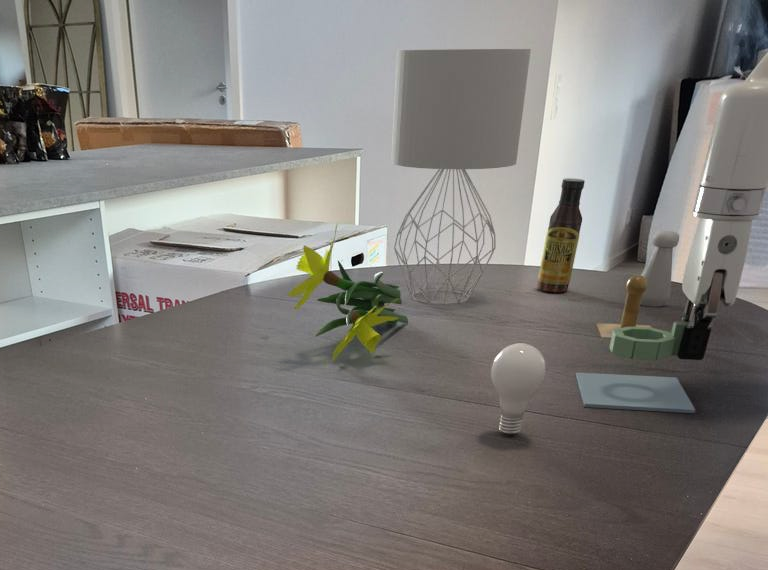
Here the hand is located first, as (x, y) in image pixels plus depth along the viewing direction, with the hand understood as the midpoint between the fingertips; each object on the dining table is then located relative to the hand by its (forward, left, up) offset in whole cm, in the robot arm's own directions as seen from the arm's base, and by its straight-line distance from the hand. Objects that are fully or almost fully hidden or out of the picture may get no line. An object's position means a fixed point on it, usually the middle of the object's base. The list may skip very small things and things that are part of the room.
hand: (688, 355), depth 114 cm
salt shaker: (-4, -52, -6) cm, 53 cm away
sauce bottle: (+13, -64, -6) cm, 66 cm away
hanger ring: (+4, 0, 0) cm, 4 cm away
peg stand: (+3, -31, -6) cm, 32 cm away
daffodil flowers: (+47, -19, -6) cm, 51 cm away
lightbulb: (+23, +19, -6) cm, 30 cm away
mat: (+6, 0, -6) cm, 8 cm away
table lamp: (+35, -54, -6) cm, 65 cm away
